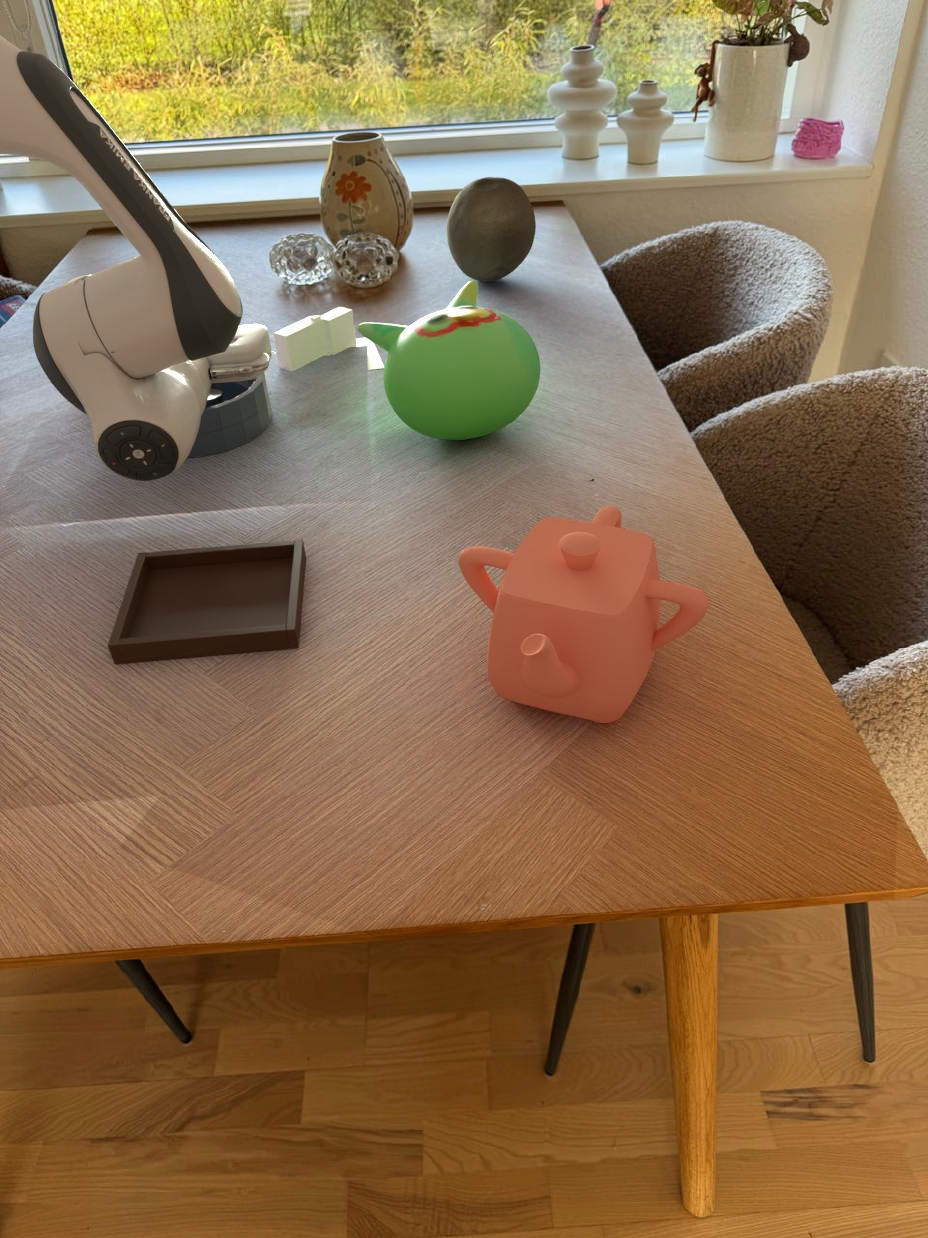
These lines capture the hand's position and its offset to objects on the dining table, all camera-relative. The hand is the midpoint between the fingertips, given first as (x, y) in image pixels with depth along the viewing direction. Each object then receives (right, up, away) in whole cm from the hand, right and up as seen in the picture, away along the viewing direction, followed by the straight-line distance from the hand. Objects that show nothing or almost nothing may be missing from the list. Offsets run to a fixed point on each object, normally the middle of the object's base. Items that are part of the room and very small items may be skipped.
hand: (186, 327), depth 106 cm
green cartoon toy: (+32, -11, +3) cm, 34 cm away
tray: (+10, -33, -23) cm, 41 cm away
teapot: (+41, -39, -32) cm, 65 cm away
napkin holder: (+13, +2, +20) cm, 24 cm away
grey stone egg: (+37, +20, +41) cm, 58 cm away
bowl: (+1, -11, +5) cm, 12 cm away
